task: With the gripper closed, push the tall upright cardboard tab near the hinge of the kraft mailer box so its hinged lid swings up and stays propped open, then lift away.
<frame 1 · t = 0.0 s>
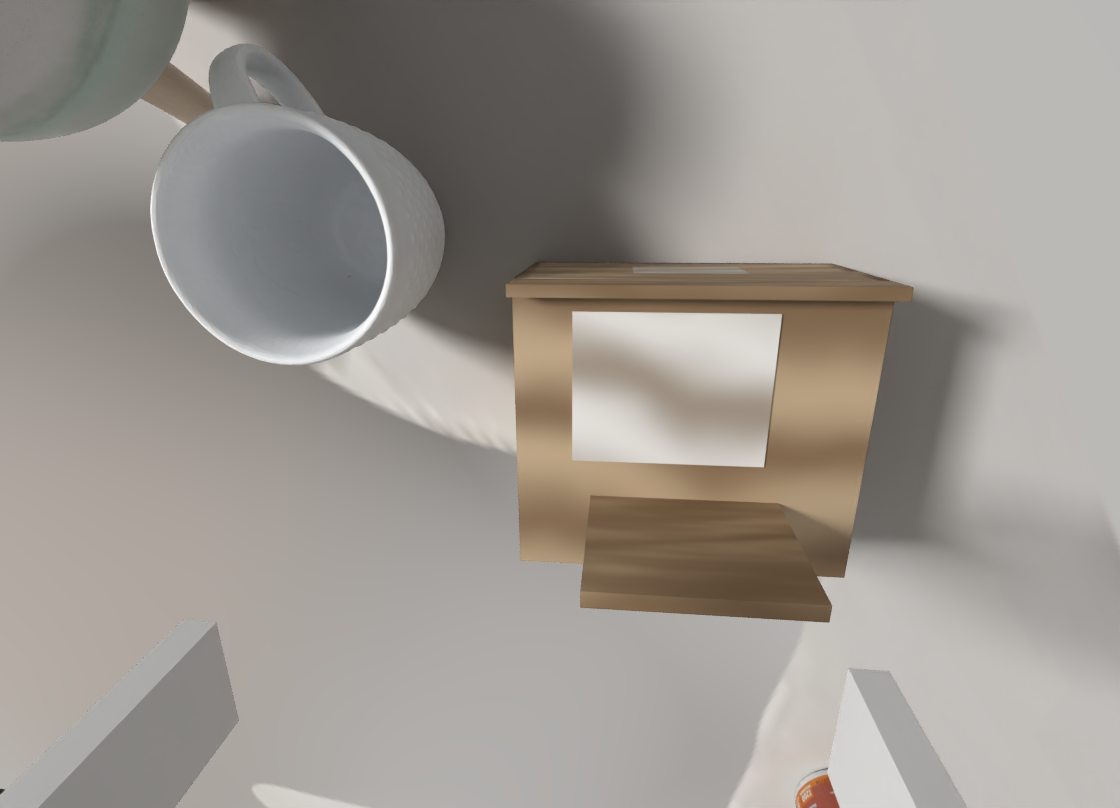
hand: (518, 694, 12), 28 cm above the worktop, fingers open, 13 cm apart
lid: (696, 469, 27), point 13 cm above the worktop, hinge at 0.0°
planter: (211, 16, 34), on the worktop
pill bottle: (830, 790, 49), on the worktop
mug: (379, 212, 37), on the worktop
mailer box: (673, 386, 39), on the worktop
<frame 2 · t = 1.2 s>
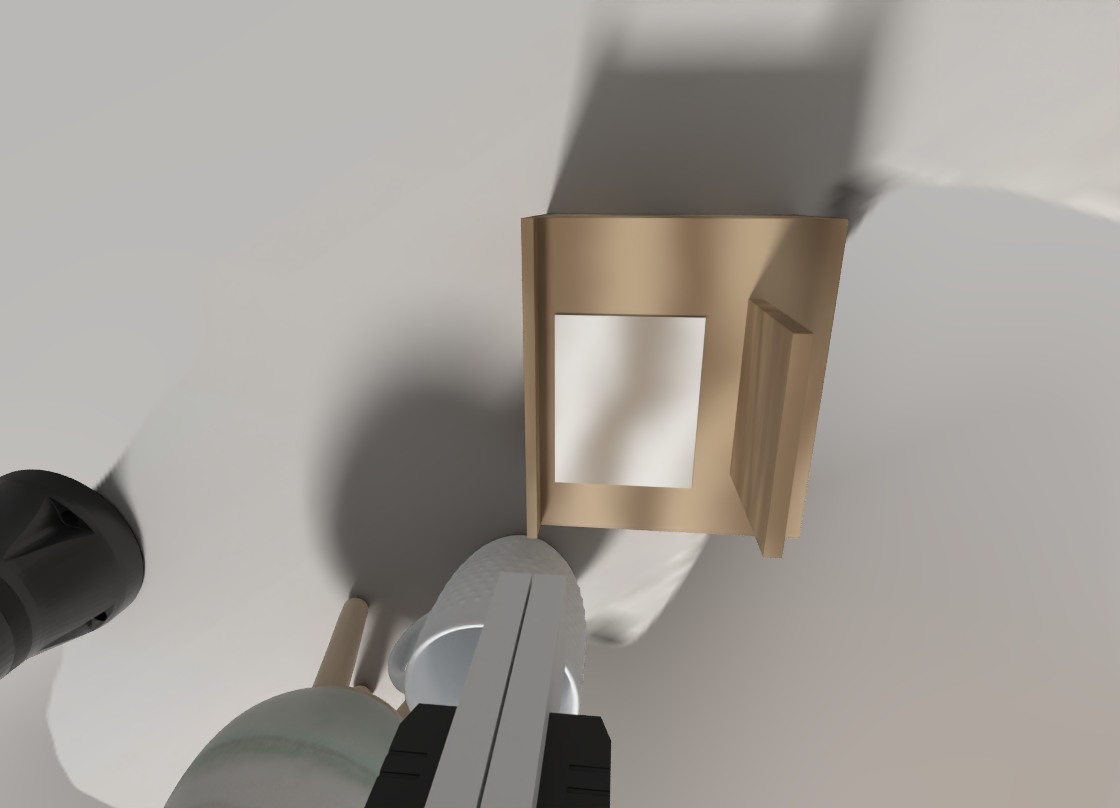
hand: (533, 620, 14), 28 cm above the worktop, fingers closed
lid: (678, 412, 29), point 13 cm above the worktop, hinge at 0.0°
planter: (392, 651, 52), on the worktop
mug: (512, 572, 48), on the worktop
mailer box: (661, 350, 41), on the worktop
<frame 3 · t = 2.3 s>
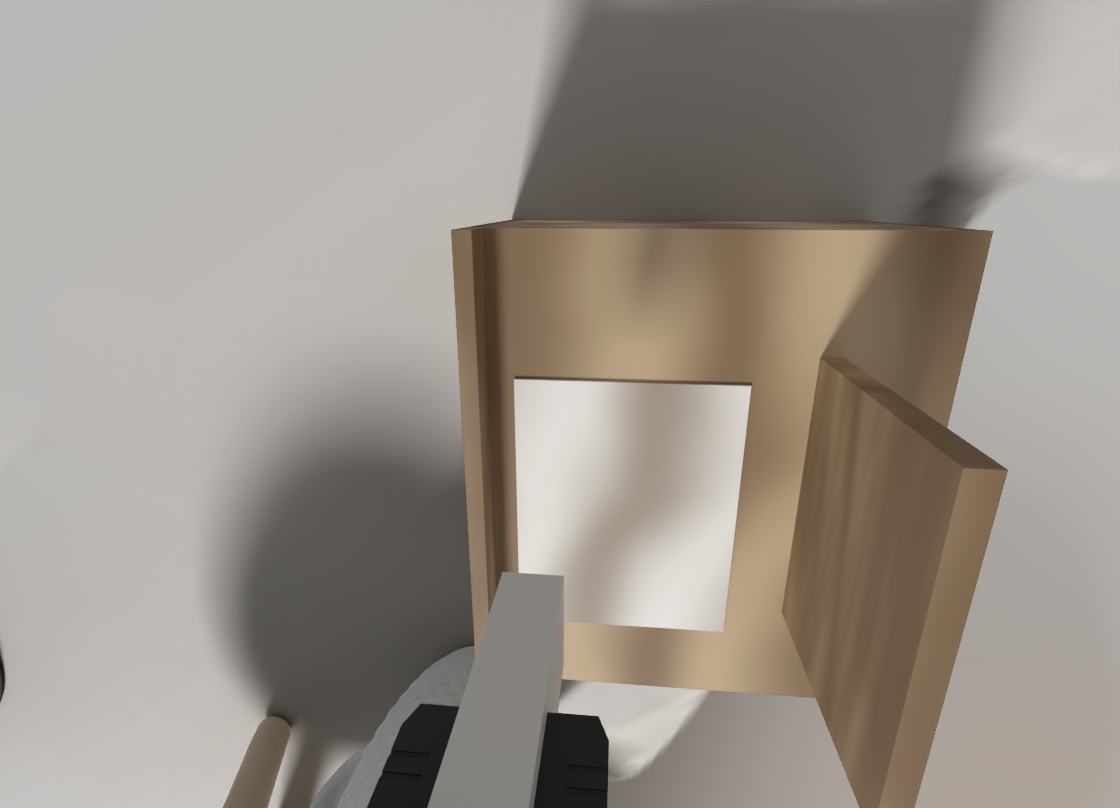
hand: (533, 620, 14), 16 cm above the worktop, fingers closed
lid: (712, 551, 17), point 13 cm above the worktop, hinge at 0.0°
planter: (325, 778, 41), on the worktop
mug: (475, 687, 37), on the worktop
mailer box: (673, 409, 29), on the worktop
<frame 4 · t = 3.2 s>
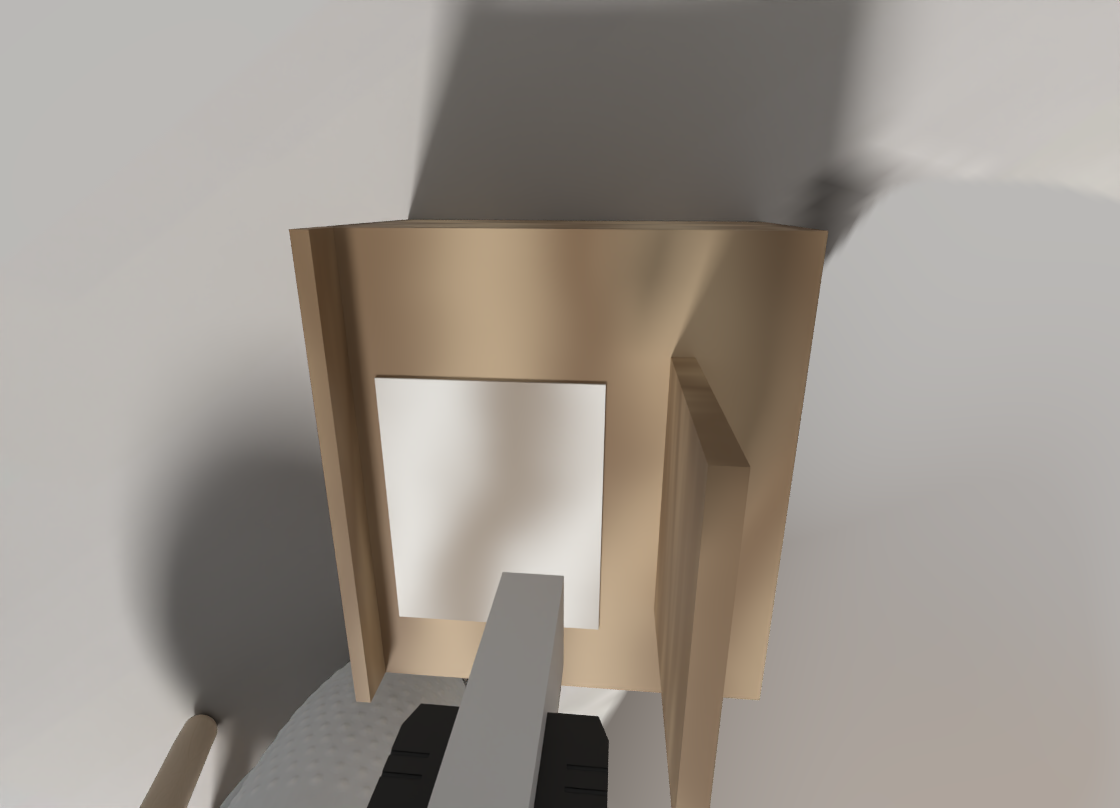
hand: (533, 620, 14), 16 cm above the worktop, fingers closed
lid: (549, 549, 17), point 13 cm above the worktop, hinge at 0.0°
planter: (255, 776, 41), on the worktop
mug: (398, 686, 37), on the worktop
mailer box: (576, 408, 29), on the worktop
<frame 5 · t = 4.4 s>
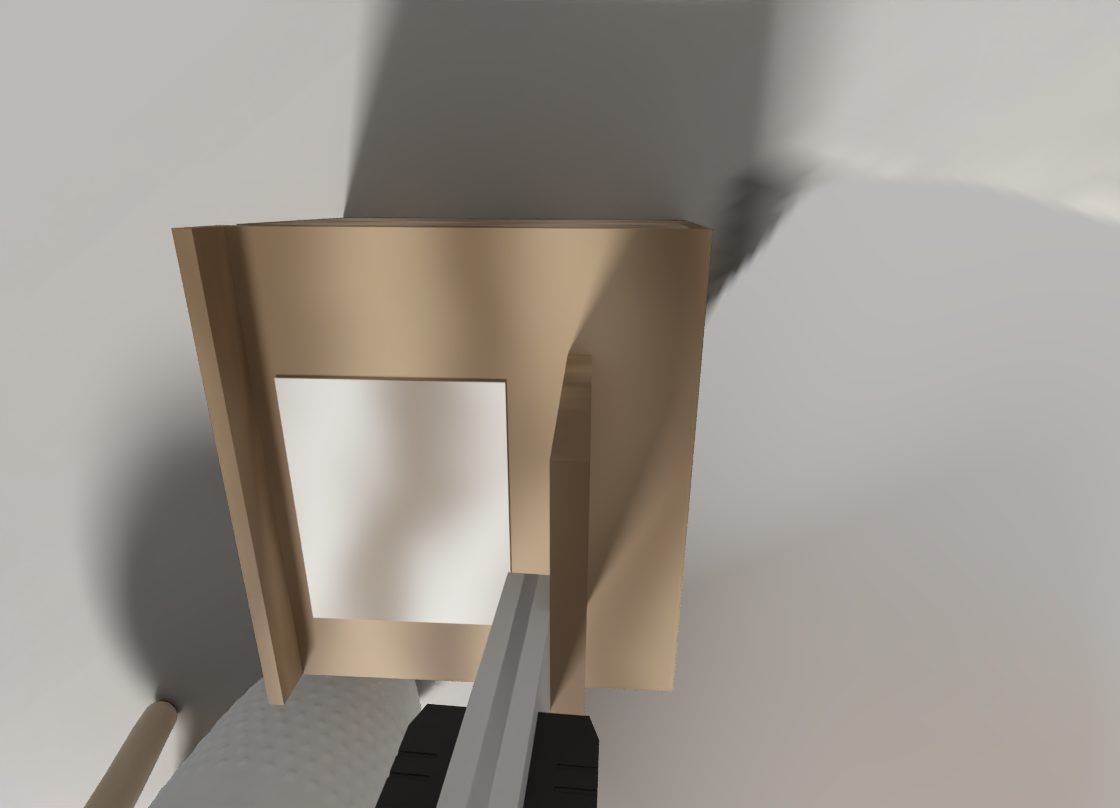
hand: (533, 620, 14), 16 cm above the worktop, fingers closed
lid: (440, 546, 18), point 13 cm above the worktop, hinge at 3.2°, touching gripper
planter: (216, 763, 42), on the worktop
mug: (351, 675, 37), on the worktop
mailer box: (513, 403, 30), on the worktop
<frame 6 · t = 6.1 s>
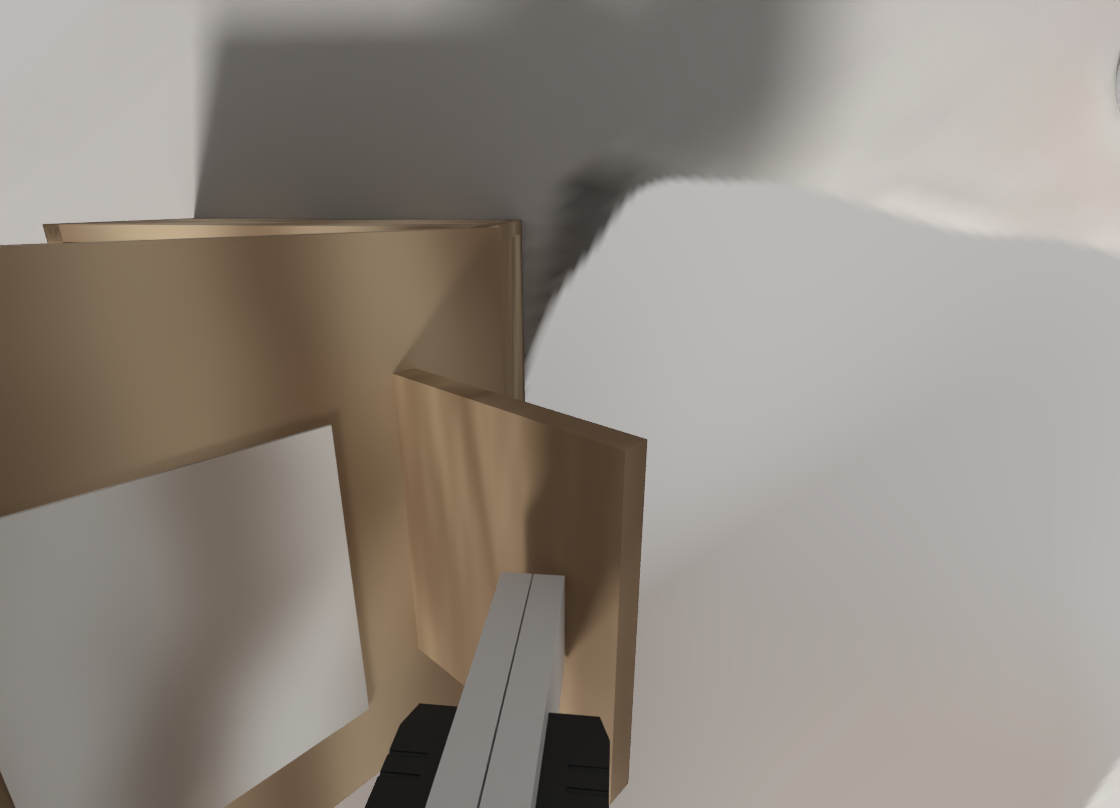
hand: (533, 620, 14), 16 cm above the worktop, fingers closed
lid: (372, 638, 14), point 17 cm above the worktop, hinge at 52.7°, touching gripper
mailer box: (373, 399, 31), on the worktop
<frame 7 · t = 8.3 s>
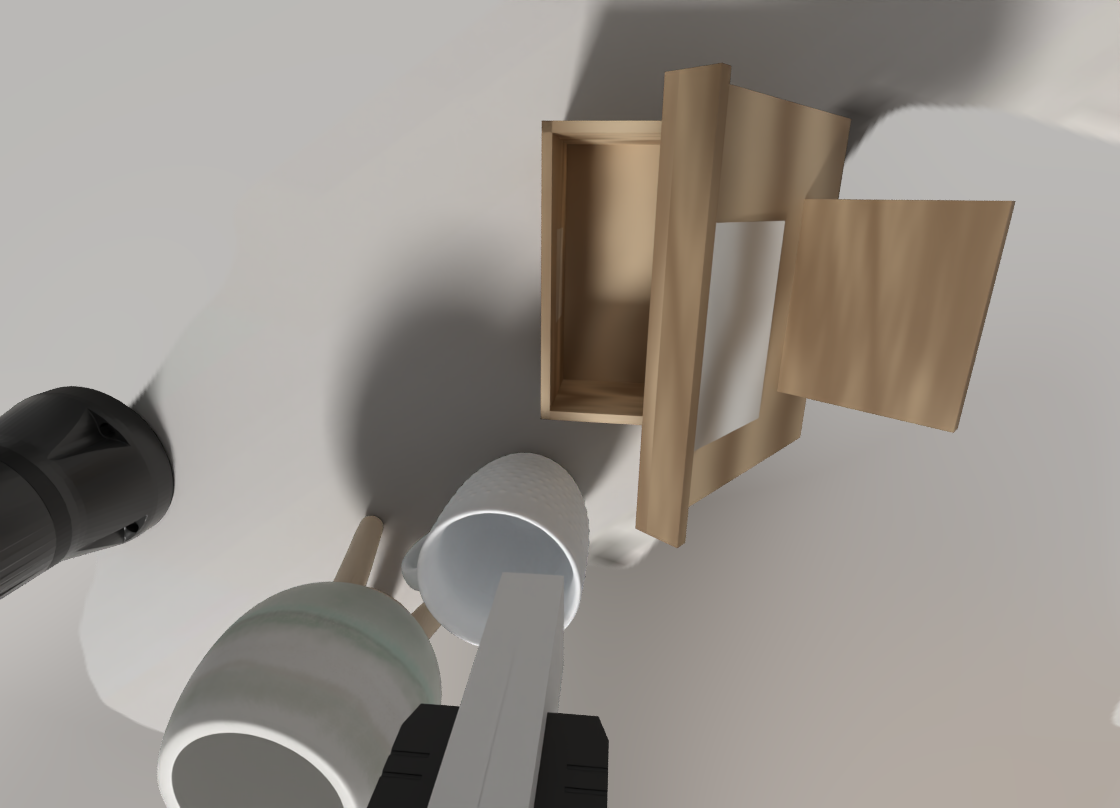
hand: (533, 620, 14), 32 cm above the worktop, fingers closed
lid: (841, 319, 26), point 17 cm above the worktop, hinge at 52.8°
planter: (405, 570, 55), on the worktop
mug: (520, 492, 50), on the worktop
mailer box: (667, 271, 43), on the worktop
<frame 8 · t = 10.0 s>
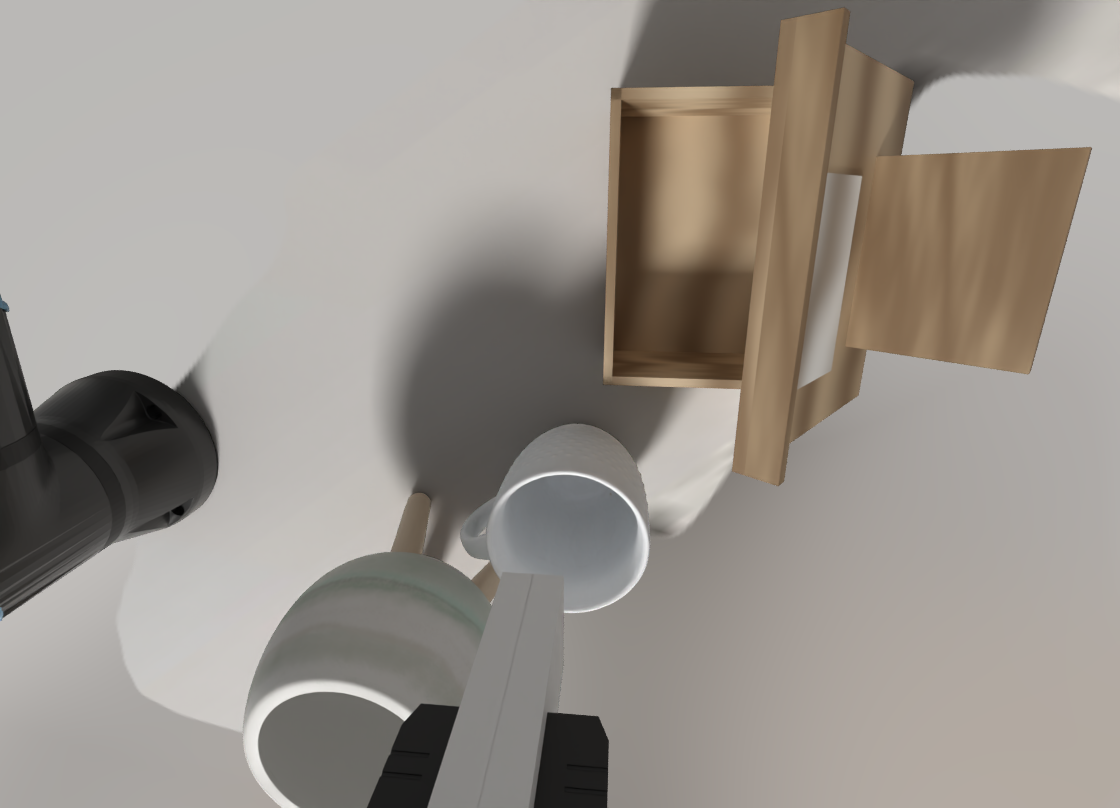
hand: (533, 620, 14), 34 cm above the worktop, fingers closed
lid: (925, 266, 27), point 17 cm above the worktop, hinge at 52.8°
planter: (451, 547, 55), on the worktop
mug: (568, 465, 51), on the worktop
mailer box: (716, 241, 44), on the worktop
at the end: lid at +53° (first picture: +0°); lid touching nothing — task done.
